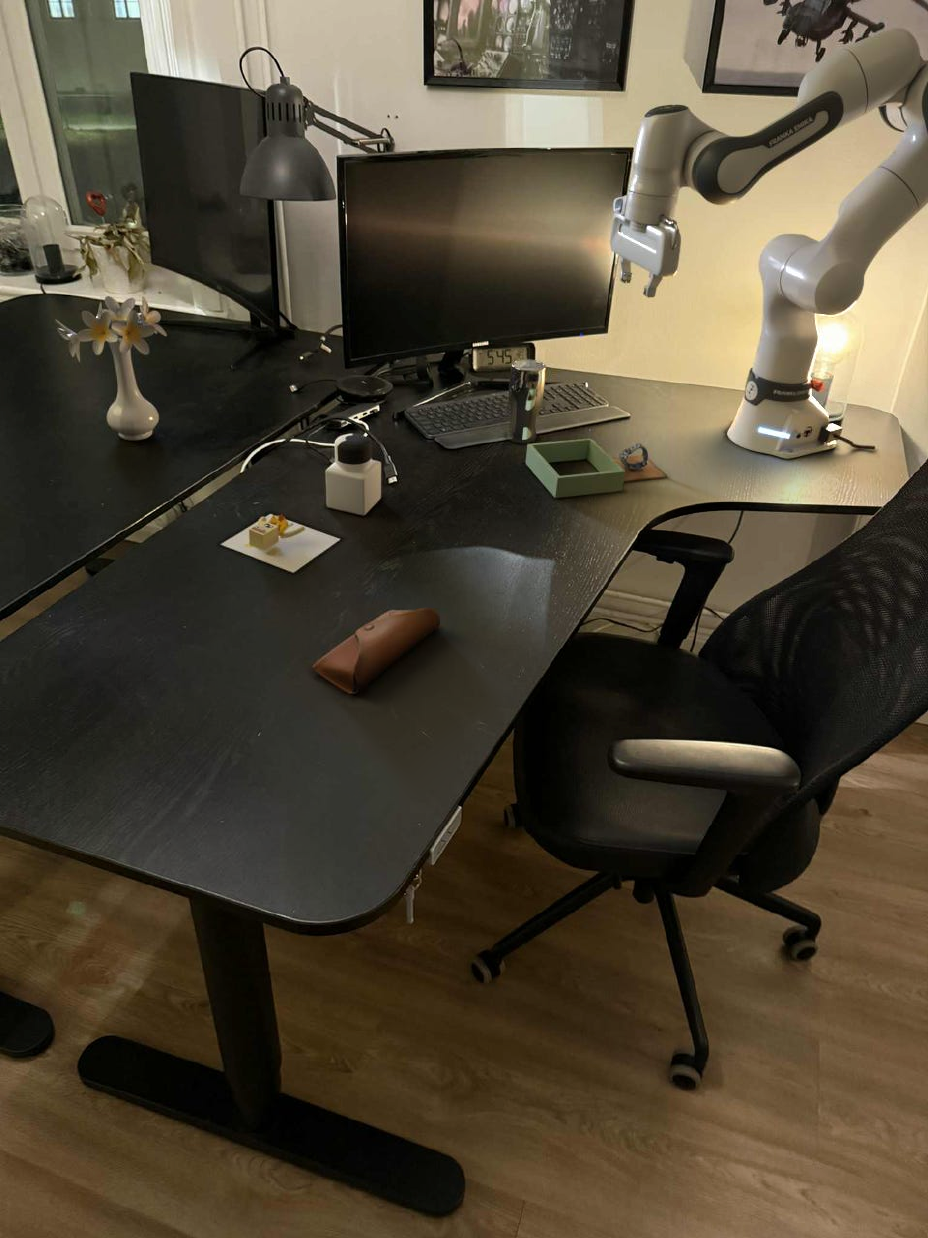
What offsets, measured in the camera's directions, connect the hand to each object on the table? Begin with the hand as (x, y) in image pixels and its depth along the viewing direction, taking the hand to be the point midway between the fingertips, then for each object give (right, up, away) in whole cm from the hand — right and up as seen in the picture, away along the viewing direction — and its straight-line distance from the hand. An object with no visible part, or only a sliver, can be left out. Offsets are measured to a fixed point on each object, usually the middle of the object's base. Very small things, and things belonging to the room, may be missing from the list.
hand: (636, 289), depth 163 cm
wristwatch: (0, -34, +3) cm, 34 cm away
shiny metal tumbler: (-21, -26, +12) cm, 35 cm away
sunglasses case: (-44, -67, -47) cm, 93 cm away
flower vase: (-96, -27, +2) cm, 100 cm away
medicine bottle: (-52, -42, -14) cm, 68 cm away
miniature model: (-62, -50, -26) cm, 84 cm away
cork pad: (0, -33, +3) cm, 34 cm away
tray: (-12, -36, -1) cm, 38 cm away
